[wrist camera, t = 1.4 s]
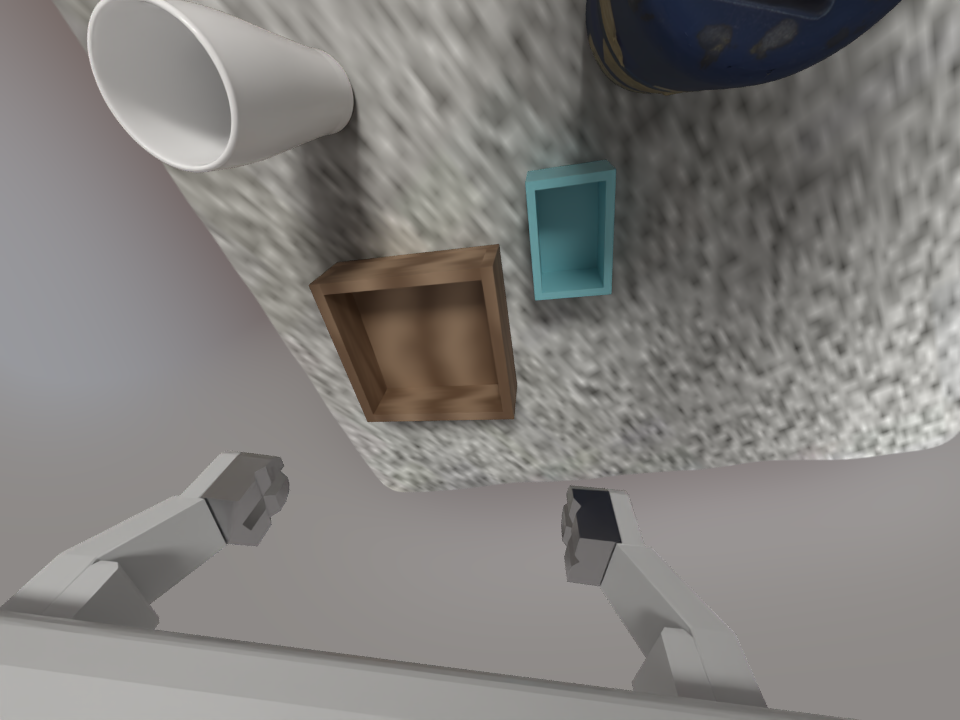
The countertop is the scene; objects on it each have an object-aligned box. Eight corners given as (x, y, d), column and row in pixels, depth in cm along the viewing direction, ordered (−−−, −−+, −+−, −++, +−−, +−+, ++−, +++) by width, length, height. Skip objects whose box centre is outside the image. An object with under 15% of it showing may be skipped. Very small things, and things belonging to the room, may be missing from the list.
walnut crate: (499, 244, 34) (492, 266, 29) (517, 385, 42) (514, 418, 38) (337, 262, 37) (308, 285, 32) (384, 390, 46) (367, 421, 41)
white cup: (383, 116, 29) (268, 130, 17) (319, 160, 32) (179, 199, 20) (327, 13, 26) (139, -60, 14) (261, 69, 29) (52, 49, 16)
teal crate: (605, 159, 29) (616, 169, 25) (603, 270, 34) (611, 294, 30) (527, 171, 30) (525, 182, 26) (535, 276, 35) (535, 300, 31)
